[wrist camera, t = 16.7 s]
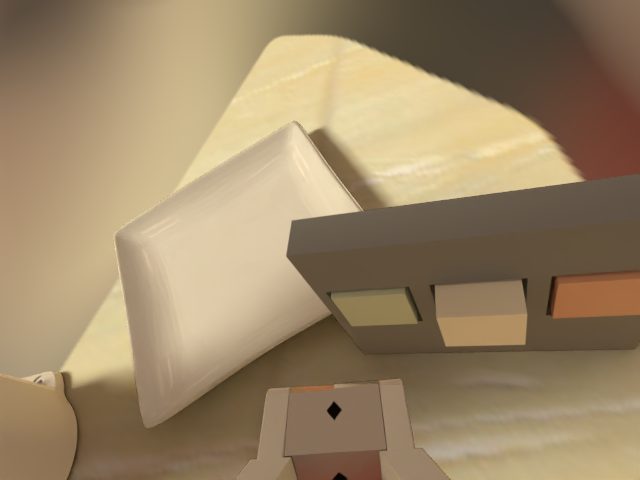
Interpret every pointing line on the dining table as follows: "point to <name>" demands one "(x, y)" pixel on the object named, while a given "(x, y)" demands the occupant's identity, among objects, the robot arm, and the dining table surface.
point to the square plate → (222, 269)
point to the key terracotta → (595, 295)
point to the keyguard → (479, 259)
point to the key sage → (377, 306)
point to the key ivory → (482, 313)
